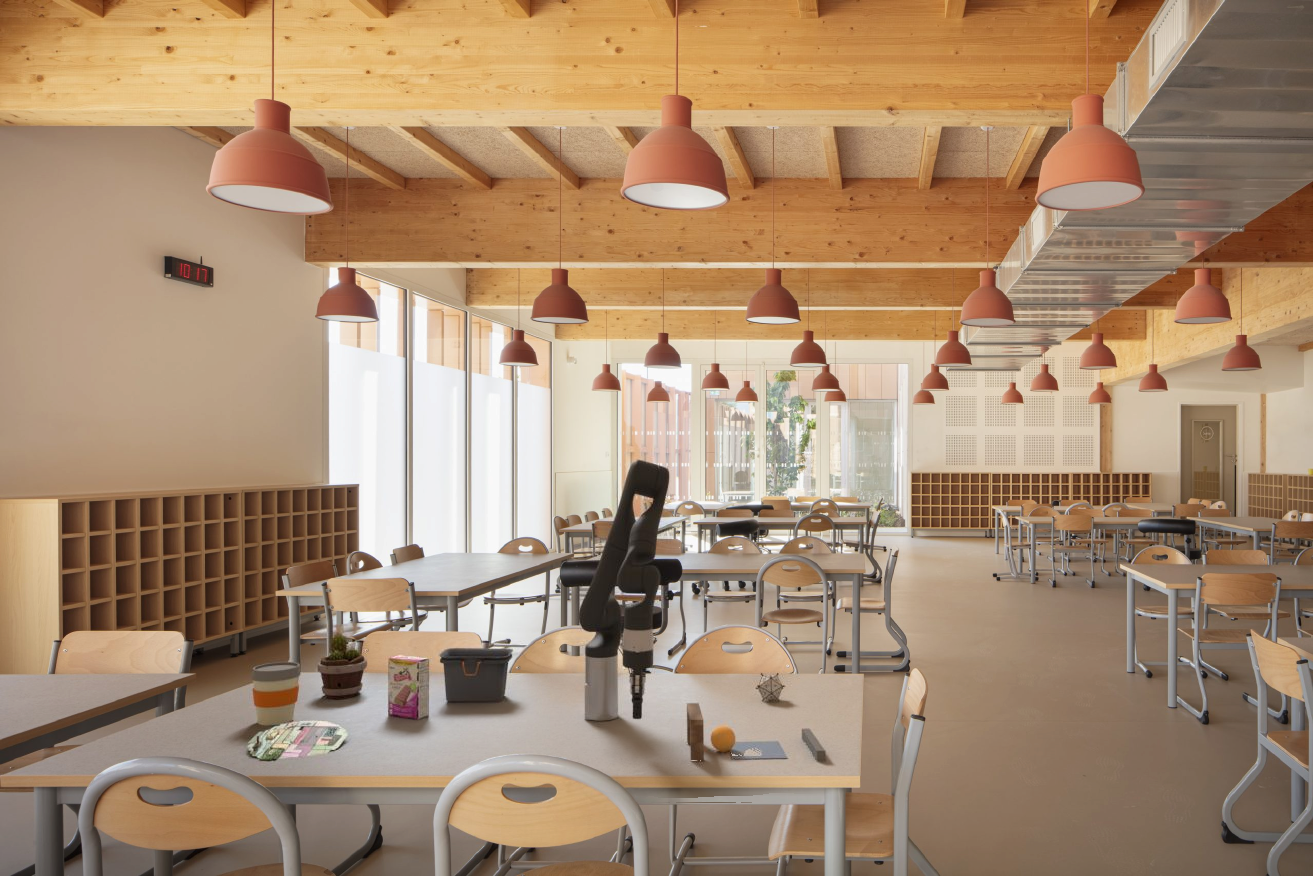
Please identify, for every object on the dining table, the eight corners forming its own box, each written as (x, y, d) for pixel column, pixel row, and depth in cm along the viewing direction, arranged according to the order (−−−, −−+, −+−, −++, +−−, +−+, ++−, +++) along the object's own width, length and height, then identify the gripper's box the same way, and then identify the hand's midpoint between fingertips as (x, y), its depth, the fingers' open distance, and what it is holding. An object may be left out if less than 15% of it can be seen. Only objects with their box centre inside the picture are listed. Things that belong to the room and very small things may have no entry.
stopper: (816, 761, 201) (816, 750, 201) (801, 738, 219) (801, 728, 219) (825, 761, 201) (825, 750, 201) (809, 738, 219) (809, 728, 219)
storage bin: (514, 693, 269) (514, 647, 269) (507, 706, 253) (507, 657, 254) (446, 694, 268) (446, 647, 269) (434, 707, 253) (434, 658, 253)
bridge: (691, 761, 202) (690, 719, 202) (687, 742, 217) (686, 703, 217) (703, 761, 202) (703, 719, 203) (698, 742, 217) (698, 703, 217)
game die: (773, 715, 255) (775, 692, 249) (749, 701, 259) (750, 679, 254) (789, 695, 261) (791, 673, 255) (765, 682, 265) (766, 660, 260)
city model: (238, 777, 200) (239, 752, 200) (242, 738, 222) (243, 715, 221) (351, 765, 210) (352, 740, 210) (345, 728, 232) (346, 706, 231)
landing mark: (732, 759, 203) (732, 758, 203) (726, 742, 216) (726, 742, 216) (787, 758, 204) (787, 757, 204) (778, 742, 217) (778, 741, 217)
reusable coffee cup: (240, 724, 236) (241, 669, 236) (275, 713, 247) (275, 660, 248) (276, 729, 231) (277, 672, 232) (309, 717, 243) (310, 663, 244)
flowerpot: (373, 696, 266) (374, 631, 267) (322, 704, 257) (323, 636, 258) (360, 687, 278) (361, 625, 279) (311, 694, 269) (311, 629, 270)
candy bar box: (386, 716, 243) (387, 657, 244) (399, 711, 248) (399, 654, 249) (417, 720, 239) (418, 660, 239) (429, 716, 243) (430, 657, 244)
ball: (706, 743, 207) (724, 726, 206) (704, 733, 213) (722, 717, 212) (723, 761, 207) (741, 744, 207) (721, 750, 213) (738, 733, 213)
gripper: (623, 641, 217) (622, 710, 216) (621, 652, 203) (620, 726, 203) (653, 641, 217) (652, 710, 216) (653, 652, 203) (652, 726, 203)
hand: (637, 718), depth 209 cm, fingers closed
